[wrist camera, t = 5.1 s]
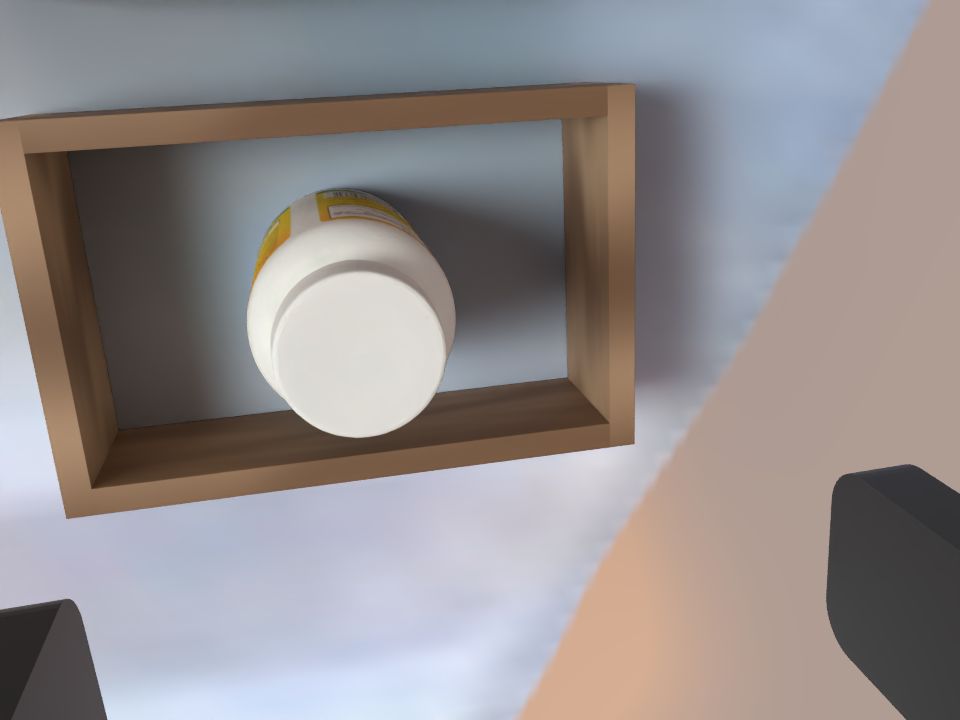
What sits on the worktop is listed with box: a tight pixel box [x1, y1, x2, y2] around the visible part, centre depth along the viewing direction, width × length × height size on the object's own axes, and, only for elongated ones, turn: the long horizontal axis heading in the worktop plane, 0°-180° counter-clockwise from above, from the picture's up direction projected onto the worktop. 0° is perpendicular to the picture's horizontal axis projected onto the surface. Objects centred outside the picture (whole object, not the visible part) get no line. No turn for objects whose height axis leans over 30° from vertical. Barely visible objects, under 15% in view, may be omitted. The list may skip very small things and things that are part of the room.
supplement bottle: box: [247, 189, 456, 438], centre depth 25 cm, size 5×5×10 cm
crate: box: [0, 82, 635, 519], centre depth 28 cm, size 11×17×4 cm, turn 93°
